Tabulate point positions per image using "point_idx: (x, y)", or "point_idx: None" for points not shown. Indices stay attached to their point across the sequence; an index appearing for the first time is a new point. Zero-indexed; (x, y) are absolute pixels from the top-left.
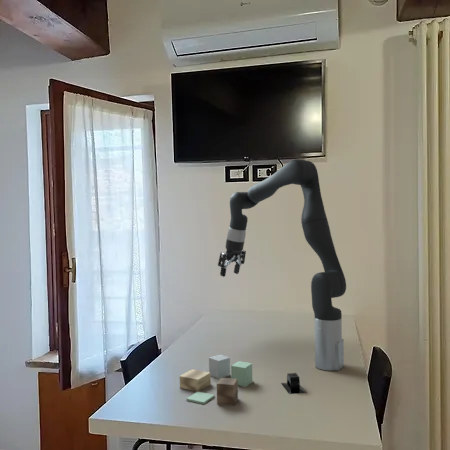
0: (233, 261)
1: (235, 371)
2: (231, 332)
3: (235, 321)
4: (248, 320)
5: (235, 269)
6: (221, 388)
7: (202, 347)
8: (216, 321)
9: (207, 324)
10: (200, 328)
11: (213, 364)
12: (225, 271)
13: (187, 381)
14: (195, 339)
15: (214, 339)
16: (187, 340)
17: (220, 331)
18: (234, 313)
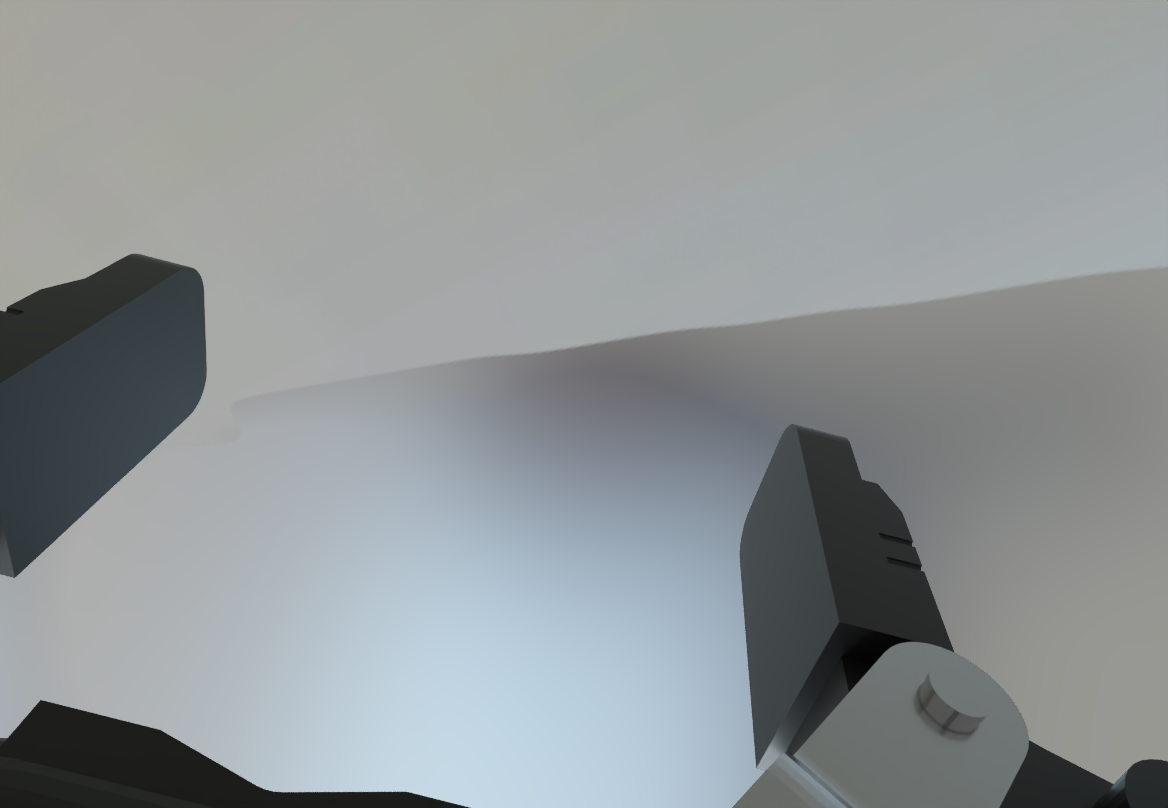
0: (283, 801)
1: None
2: (501, 5)
3: (183, 158)
4: (65, 64)
5: (129, 420)
6: None
7: (1152, 5)
8: (297, 291)
9: (409, 312)
10: (534, 310)
11: None
12: (848, 539)
13: None
14: (861, 205)
15: (810, 40)
16: (911, 249)
17: (527, 125)
18: (29, 271)
